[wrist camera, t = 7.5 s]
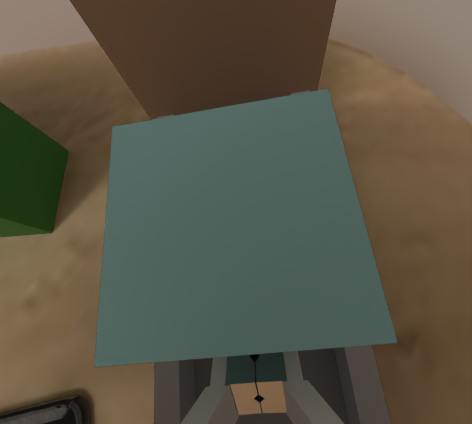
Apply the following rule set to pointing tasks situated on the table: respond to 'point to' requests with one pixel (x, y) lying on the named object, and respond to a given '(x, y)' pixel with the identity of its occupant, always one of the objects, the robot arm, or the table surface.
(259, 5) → the keeper track
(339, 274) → the block
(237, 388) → the robot arm
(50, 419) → the phone
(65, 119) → the table surface
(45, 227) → the hardback book
